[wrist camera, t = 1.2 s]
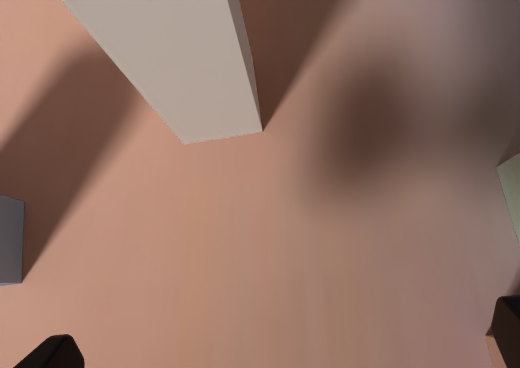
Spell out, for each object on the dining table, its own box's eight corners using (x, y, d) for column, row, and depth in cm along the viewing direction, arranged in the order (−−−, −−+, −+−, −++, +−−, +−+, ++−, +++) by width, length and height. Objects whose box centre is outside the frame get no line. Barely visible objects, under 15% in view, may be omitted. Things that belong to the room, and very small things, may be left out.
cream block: (262, 131, 24) (217, -37, 11) (183, 144, 24) (56, -6, 12) (253, 60, 25) (202, -160, 13) (178, 73, 26) (58, -129, 13)
